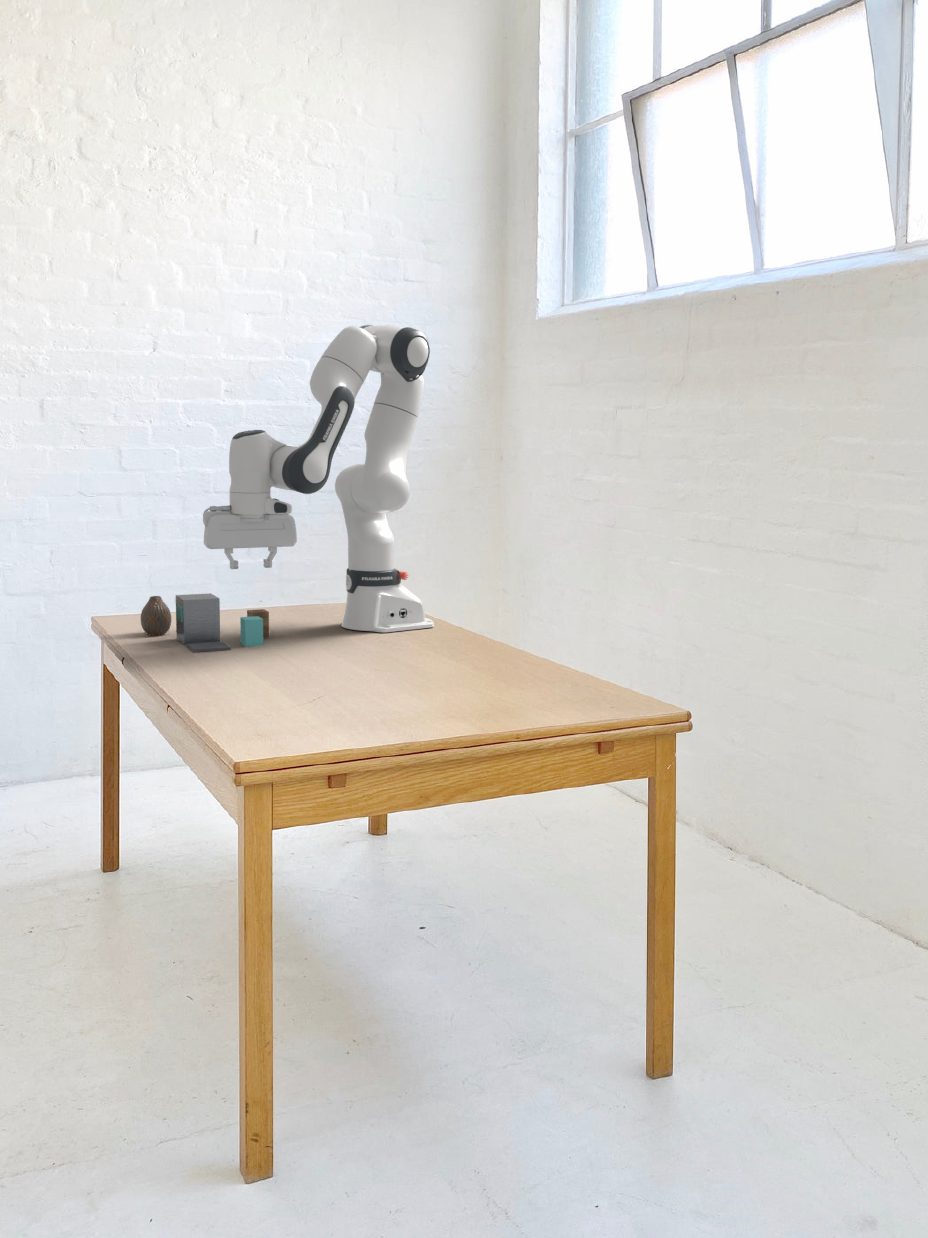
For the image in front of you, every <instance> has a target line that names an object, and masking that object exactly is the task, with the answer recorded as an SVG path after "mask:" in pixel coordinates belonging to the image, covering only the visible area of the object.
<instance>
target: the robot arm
mask: <svg viewBox="0 0 928 1238" xmlns="http://www.w3.org/2000/svg"><path fill="white" fill-rule="evenodd" d="M430 349H431V348H430V344H429V340H428V337H427V336H426V335H425V334H424V333H423V332H422V331H420V330H419V329H416V328H413V327H410V326H408V327H404V326H400V325H394V324H385V325H384V324H381V325H376V324H375V325H373V324H365V325H361V326H354V325H351V326H347V327H344V328H343V329H342V330H341V331H340V332H339V333H338V334H337V335H336V336H335V337H334V339H333V340H332V341H331V342H330V343H329V345H328V346H327V348H326V349H325V350H324V351H323V353H322V355H321V357H320V358H319V360H318V362H317V363H316V364H315V366H314V369H313V370H312V372H311V373H312V374H311V376H310V379H309V387H310V391H311V394H312V396H313V398H314V399H315V400H316V401H317V402H318V403H319V404H320V406H321V409H320V410H321V411H320V414H319V416H318V418H317V421H316V423H315V425H314V427H313V428H312V431H311V433H310V435H309V437H308V439H307V440H306V441H305V442H304V443H303V444H301V445H298V446H295V445H294V446H293V445H287V443H286V444H285V443H283V442H281V441H280V440H277V439H275V438H274V437H272V436H271V435H270V434H269V433H267V431H266V430H263V429H252V430H244V431H239V432H238V433H235V434H234V435H233V436H232V438H231V441H230V446H229V455H228V466H229V467H228V472H229V473H228V474H229V476H230V485H229V486H230V487H229V505H220V506H217V505H211V506H209V507H207V508H205V510H204V511H203V513H202V522H203V525H204V531H203V545H204V547H206V548H207V549H209V550H224V554H225V556H226V558H227V559H228V561H229V569H230V570H239V560H236V559H234V557H233V556H232V554H234V549H252V548H253V549H254V548H255V549H256V548H257V549H258V548H261V549H262V548H267V551H268V552H269V554H268V556H267V557H266V558H263V559H262V560H263V568H266V569H268V568H271V569H272V568H273V560H274V557H276V554H277V552H278V548H282V547H285V548H287V547H290V548H291V547H294V546H295V545H296V543H297V542H298V541H297V540H298V535H297V526H296V520H295V517H293V515H292V514H291V513H292V512H293V506H292V504H290V503H288V502H285V501H281V500H280V499H277V498H272V496H271V488H275V489H280V490H286V491H294V492H297V493H300V494H305V495H310V494H315V493H317V492H319V491H320V490H321V489H322V488H323V487H324V486H325V485H326V484H327V481H328V480H329V476H330V472H331V466H332V463H333V462H332V461H333V458H334V454H335V452H336V449H337V447H338V446H339V443H340V441H341V440H342V437H343V434H344V432H345V430H346V427H347V425H349V424H348V423H349V421H350V419H351V417H352V414H353V412H354V408H355V403H356V401H355V400H356V398H357V396H358V393H359V392H360V389H361V388H362V386H363V384H364V383H365V381H366V379H367V377H368V376H369V375H368V374H369V373H370V371H372V372H376V373H379V375H380V386H379V389H378V391H377V393H376V396H375V400H374V401H373V405H372V408H371V412H370V414H369V418H368V421H367V424H366V428H365V430H364V441H365V444H366V451H365V461H364V464H363V463H362V464H361V463H360V464H354V465H351V466H348V467H346V468H344V469H342V470H341V471H340V472H339V473H338V475H337V477H336V478H335V483H334V489H335V494H336V496H337V498H338V499H339V501H340V503H341V508H342V513H343V517H344V518H343V519H344V522H345V526H346V533H347V562H348V563H347V564H348V568H346V575H345V588H346V593H347V595H346V604H345V609H344V614H343V617H342V618H343V619H342V621H341V625H340V626H341V627H342V628H344V629H348V630H354V631H363V632H365V631H366V632H375V633H393V632H400V631H401V632H402V631H409V630H419V629H427V628H428V629H429V628H434V627H435V623H434V621H433V620H432V619H430V618H427V617H426V614H425V607H424V604H423V602H422V600H421V598H419V597H418V596H417V595H416V594H414V593H413V592H412V591H410V590H409V589H408V588H407V587H406V586H404V585H403V584H402V583H401V582H402V580H403V581H406V580H408V578H409V573H408V572H407V571H404V570H398V569H396V568H395V536H394V533H393V531H392V530H391V528H390V525H389V521H388V518H387V513H393V512H395V511H398V510H400V509H402V508H403V507H404V506H405V505H406V504H407V502H408V501H409V498H410V493H411V487H410V483H409V480H408V477H407V474H408V473H407V472H408V471H407V470H408V457H409V456H408V455H409V451H410V450H409V449H410V445H411V442H412V438H413V434H414V431H415V427H416V426H417V422H418V419H419V415H420V411H421V407H422V404H423V398H424V392H425V391H424V389H425V379H424V376H423V374H424V372H425V371H426V367H427V365H428V363H429V359H430V352H431V351H430Z"/></svg>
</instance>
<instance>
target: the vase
mask: <svg viewBox="0 0 928 1238" xmlns="http://www.w3.org/2000/svg"><path fill="white" fill-rule="evenodd" d="M140 625H141V628H142V629H143V631H144V632H145V633H146V634H147V635H148V636H164V635H166V633H168V632H169V630H170V628H171V625H172V612H171V610H170V608H169V607H168V605H167V604H166V603H165V602H164V600H163V599H162V596H160V595H152V596H150V597H149V599H148V601H147V602H146V603H145V605H144V606H143V607H142V610H141V612H140Z"/></svg>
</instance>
